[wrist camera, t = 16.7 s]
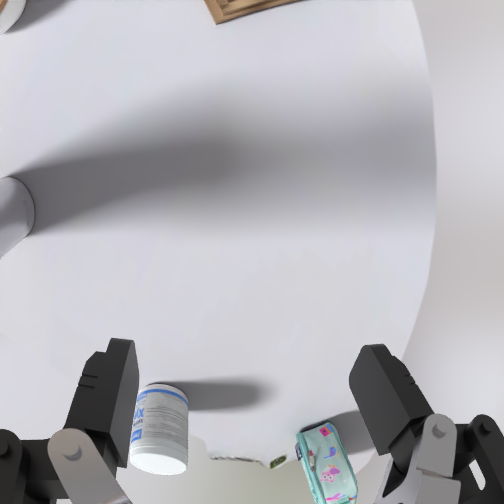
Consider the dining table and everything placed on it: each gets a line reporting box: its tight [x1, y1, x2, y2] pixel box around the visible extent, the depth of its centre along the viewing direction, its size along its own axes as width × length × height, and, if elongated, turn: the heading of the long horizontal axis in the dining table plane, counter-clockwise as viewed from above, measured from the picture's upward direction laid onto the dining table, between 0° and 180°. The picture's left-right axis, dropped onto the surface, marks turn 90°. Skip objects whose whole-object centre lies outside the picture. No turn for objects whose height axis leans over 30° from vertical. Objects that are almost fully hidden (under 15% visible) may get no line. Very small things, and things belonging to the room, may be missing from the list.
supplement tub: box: [130, 384, 188, 475], centre depth 44 cm, size 10×10×15 cm
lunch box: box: [295, 422, 358, 504], centre depth 55 cm, size 27×10×21 cm, turn 17°
